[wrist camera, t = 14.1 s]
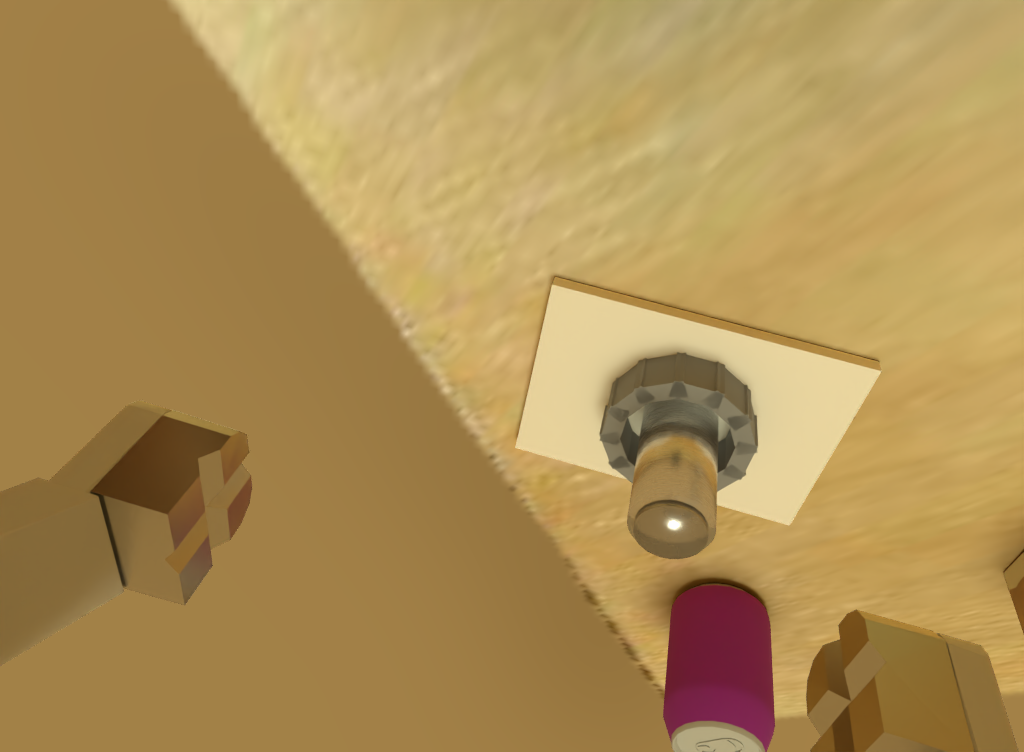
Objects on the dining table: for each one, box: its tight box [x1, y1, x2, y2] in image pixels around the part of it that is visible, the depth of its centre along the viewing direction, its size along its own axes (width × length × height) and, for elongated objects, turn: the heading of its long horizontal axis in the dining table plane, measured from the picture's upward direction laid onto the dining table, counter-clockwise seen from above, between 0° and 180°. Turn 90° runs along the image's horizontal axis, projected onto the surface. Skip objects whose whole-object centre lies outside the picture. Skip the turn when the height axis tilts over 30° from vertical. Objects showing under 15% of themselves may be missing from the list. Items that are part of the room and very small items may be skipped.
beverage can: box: [663, 583, 775, 752], centre depth 57 cm, size 8×8×12 cm
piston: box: [627, 399, 719, 559], centre depth 45 cm, size 5×5×11 cm
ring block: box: [515, 277, 881, 525], centre depth 49 cm, size 20×14×4 cm
